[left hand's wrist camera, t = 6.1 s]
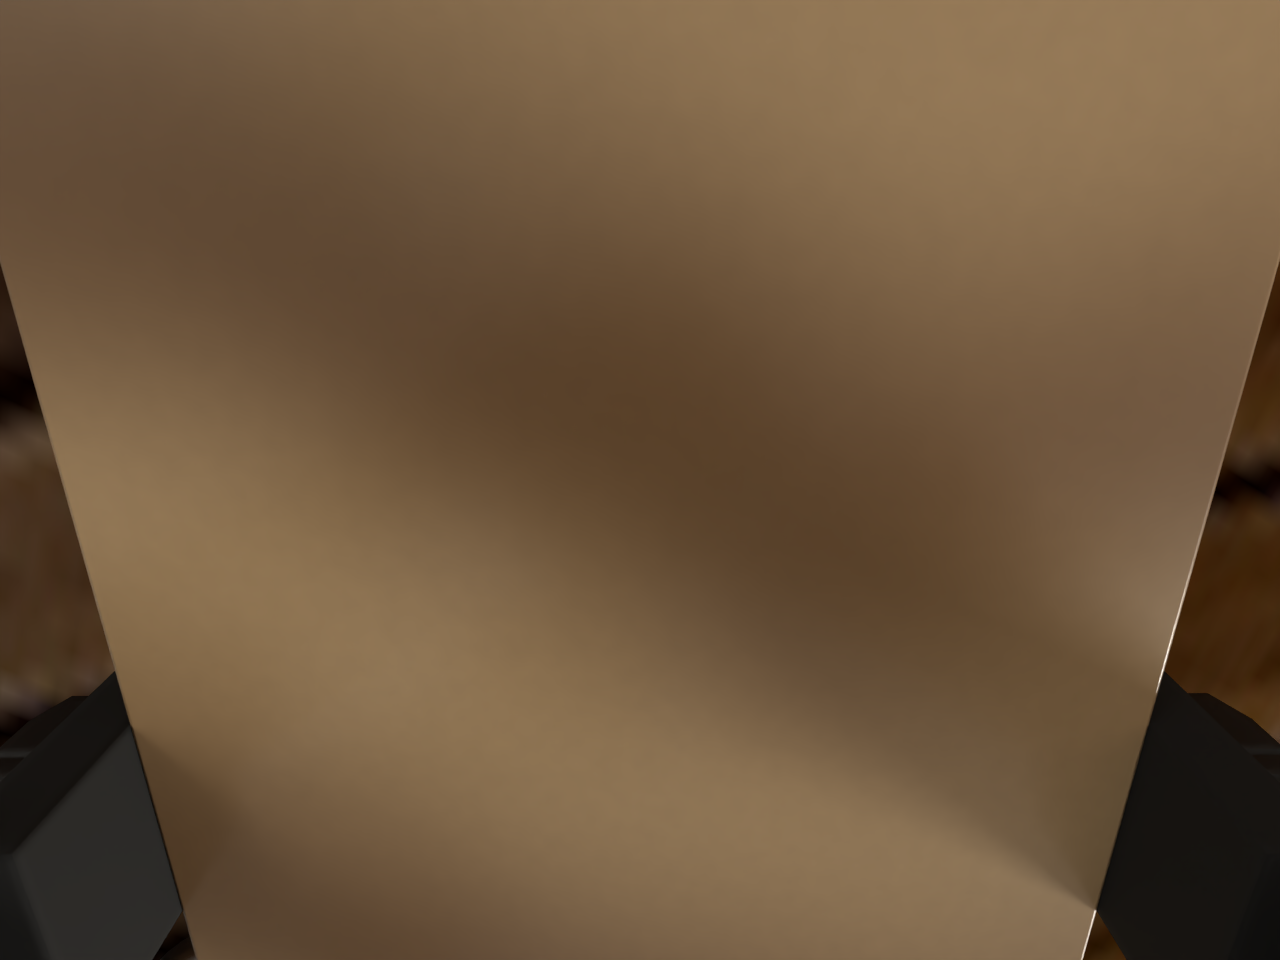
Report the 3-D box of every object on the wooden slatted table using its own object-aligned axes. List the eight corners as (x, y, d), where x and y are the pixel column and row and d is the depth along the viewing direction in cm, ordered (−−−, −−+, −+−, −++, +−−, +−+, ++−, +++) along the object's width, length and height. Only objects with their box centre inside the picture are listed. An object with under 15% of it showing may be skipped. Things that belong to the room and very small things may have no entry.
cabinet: (316, -357, 14) (-597, -1835, 4) (963, -357, 13) (1874, -1835, 4) (425, 614, 20) (218, 1044, 10) (854, 614, 20) (1060, 1045, 10)
